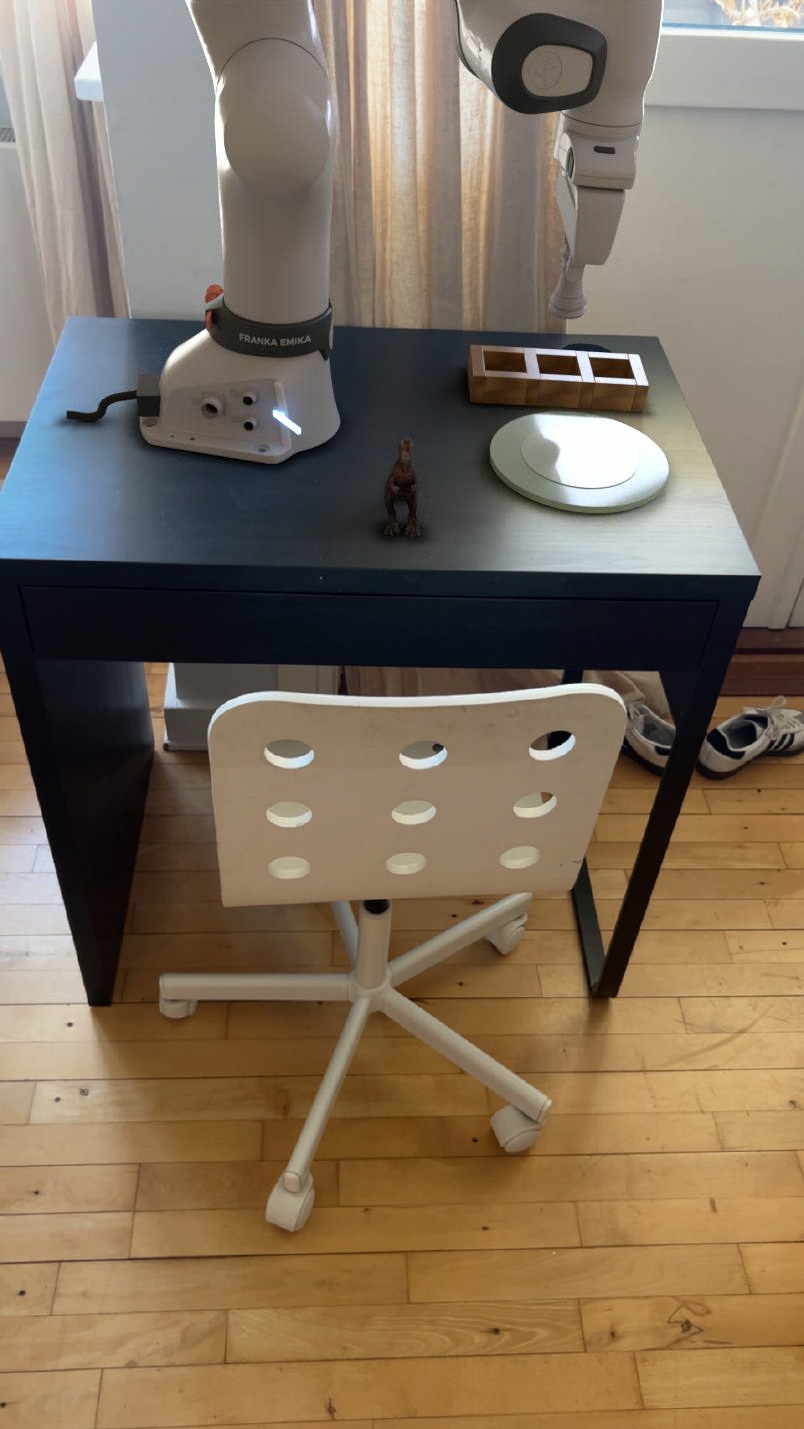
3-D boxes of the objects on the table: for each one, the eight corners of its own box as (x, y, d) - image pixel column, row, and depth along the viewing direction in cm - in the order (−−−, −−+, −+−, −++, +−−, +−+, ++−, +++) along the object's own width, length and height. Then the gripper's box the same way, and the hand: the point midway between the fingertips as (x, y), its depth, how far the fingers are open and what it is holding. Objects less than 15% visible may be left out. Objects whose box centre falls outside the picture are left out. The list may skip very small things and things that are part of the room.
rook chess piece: (540, 314, 135) (548, 245, 129) (559, 300, 138) (567, 232, 132) (574, 324, 133) (583, 254, 128) (592, 310, 136) (602, 242, 130)
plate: (494, 511, 122) (496, 500, 121) (484, 415, 137) (485, 405, 136) (681, 521, 123) (684, 511, 122) (651, 425, 138) (653, 415, 137)
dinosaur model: (393, 445, 108) (390, 377, 119) (380, 553, 115) (378, 479, 127) (436, 449, 108) (428, 380, 119) (420, 556, 116) (415, 482, 127)
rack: (470, 402, 139) (473, 375, 137) (467, 370, 145) (470, 344, 142) (643, 412, 140) (649, 386, 138) (633, 380, 146) (639, 354, 143)
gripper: (556, 109, 130) (535, 234, 139) (576, 173, 115) (552, 308, 124) (611, 115, 130) (587, 238, 140) (639, 179, 115) (610, 312, 125)
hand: (570, 272), depth 132 cm, fingers closed on rook chess piece, 3 cm apart
